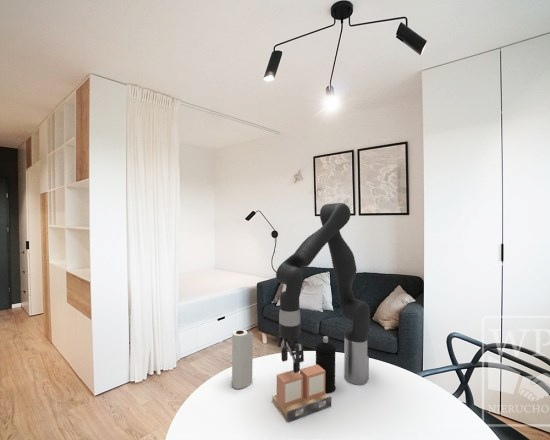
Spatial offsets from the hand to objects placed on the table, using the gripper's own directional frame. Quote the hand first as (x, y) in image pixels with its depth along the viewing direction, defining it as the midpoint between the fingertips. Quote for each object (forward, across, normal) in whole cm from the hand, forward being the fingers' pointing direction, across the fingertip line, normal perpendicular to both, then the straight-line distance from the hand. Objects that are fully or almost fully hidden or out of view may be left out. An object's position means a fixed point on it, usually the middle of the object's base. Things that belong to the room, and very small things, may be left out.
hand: (290, 366), depth 98 cm
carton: (+12, 0, 0) cm, 12 cm away
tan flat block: (+14, 0, -4) cm, 15 cm away
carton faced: (+12, 0, -9) cm, 15 cm away
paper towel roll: (+14, +20, +12) cm, 27 cm away
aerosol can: (+15, +4, -18) cm, 24 cm away
